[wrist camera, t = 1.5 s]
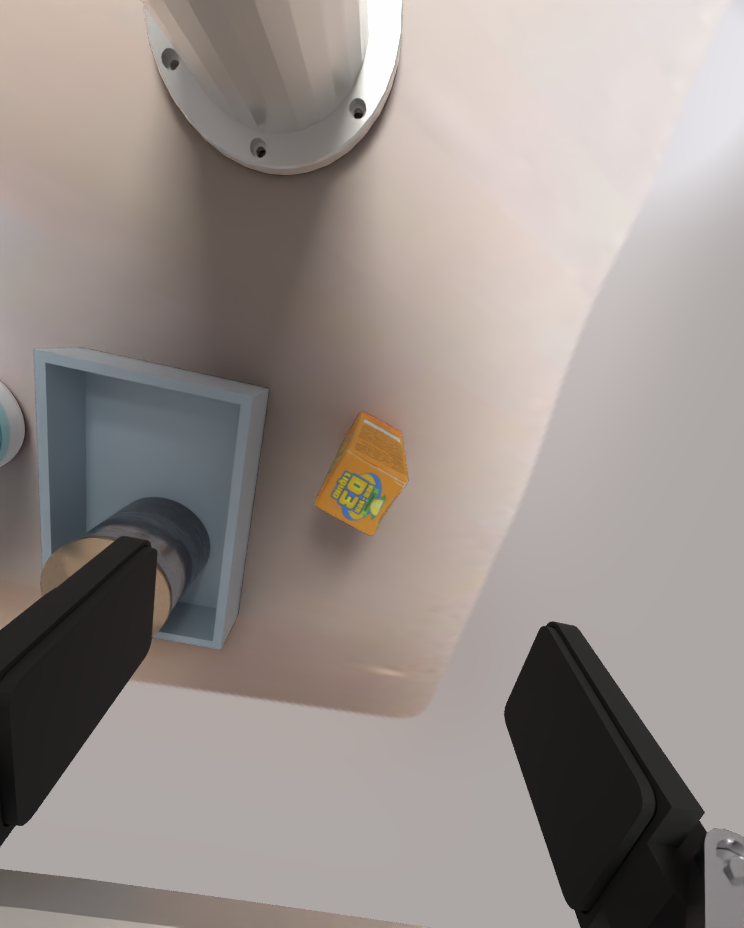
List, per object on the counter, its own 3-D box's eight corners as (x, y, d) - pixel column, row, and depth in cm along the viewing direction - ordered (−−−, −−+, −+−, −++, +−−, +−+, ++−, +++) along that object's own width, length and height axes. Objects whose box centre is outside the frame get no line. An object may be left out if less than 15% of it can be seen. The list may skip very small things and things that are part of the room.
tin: (112, 486, 27) (38, 528, 21) (216, 507, 28) (172, 554, 22) (110, 574, 30) (42, 635, 24) (207, 592, 30) (164, 656, 24)
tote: (81, 347, 25) (33, 348, 22) (269, 388, 26) (252, 396, 22) (82, 585, 31) (44, 617, 27) (238, 614, 31) (220, 649, 28)
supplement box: (358, 405, 26) (348, 445, 17) (402, 431, 27) (418, 484, 17) (333, 448, 27) (311, 508, 18) (377, 472, 28) (378, 543, 18)
